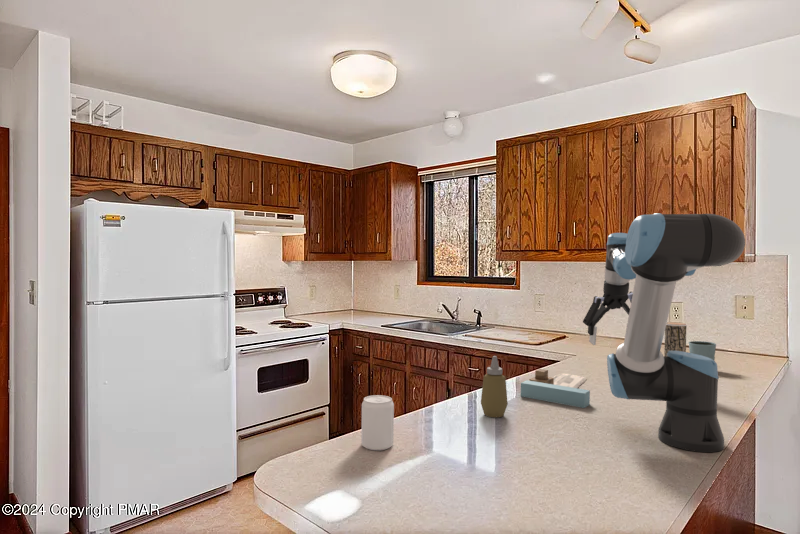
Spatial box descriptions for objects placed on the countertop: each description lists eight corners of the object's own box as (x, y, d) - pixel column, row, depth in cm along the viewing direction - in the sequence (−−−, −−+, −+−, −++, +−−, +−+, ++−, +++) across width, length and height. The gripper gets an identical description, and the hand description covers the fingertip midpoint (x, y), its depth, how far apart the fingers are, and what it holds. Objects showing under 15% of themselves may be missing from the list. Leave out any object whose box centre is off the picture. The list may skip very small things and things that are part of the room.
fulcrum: (545, 393, 185) (545, 373, 185) (529, 390, 189) (529, 371, 189) (553, 388, 192) (553, 369, 191) (537, 386, 195) (538, 367, 195)
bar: (584, 409, 167) (584, 393, 167) (520, 397, 181) (520, 382, 181) (589, 405, 171) (589, 390, 171) (526, 394, 185) (526, 380, 185)
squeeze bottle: (487, 420, 154) (488, 359, 153) (476, 412, 162) (477, 354, 161) (512, 418, 156) (513, 358, 156) (500, 410, 164) (500, 353, 163)
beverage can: (376, 438, 138) (376, 392, 138) (399, 445, 133) (400, 398, 132) (354, 446, 132) (355, 399, 131) (378, 454, 126) (379, 405, 126)
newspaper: (555, 377, 213) (556, 371, 213) (586, 384, 207) (587, 377, 207) (539, 388, 194) (540, 381, 194) (573, 396, 188) (574, 389, 187)
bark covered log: (687, 396, 183) (689, 325, 183) (666, 394, 184) (668, 324, 184) (681, 391, 190) (682, 322, 189) (661, 390, 191) (662, 322, 191)
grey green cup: (720, 372, 223) (721, 344, 222) (703, 373, 219) (704, 345, 219) (699, 367, 232) (700, 340, 232) (682, 368, 228) (683, 341, 228)
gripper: (645, 273, 172) (638, 331, 179) (574, 281, 169) (570, 340, 175) (659, 280, 165) (652, 341, 172) (586, 289, 162) (582, 350, 168)
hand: (611, 340), depth 174 cm, fingers open, 13 cm apart
